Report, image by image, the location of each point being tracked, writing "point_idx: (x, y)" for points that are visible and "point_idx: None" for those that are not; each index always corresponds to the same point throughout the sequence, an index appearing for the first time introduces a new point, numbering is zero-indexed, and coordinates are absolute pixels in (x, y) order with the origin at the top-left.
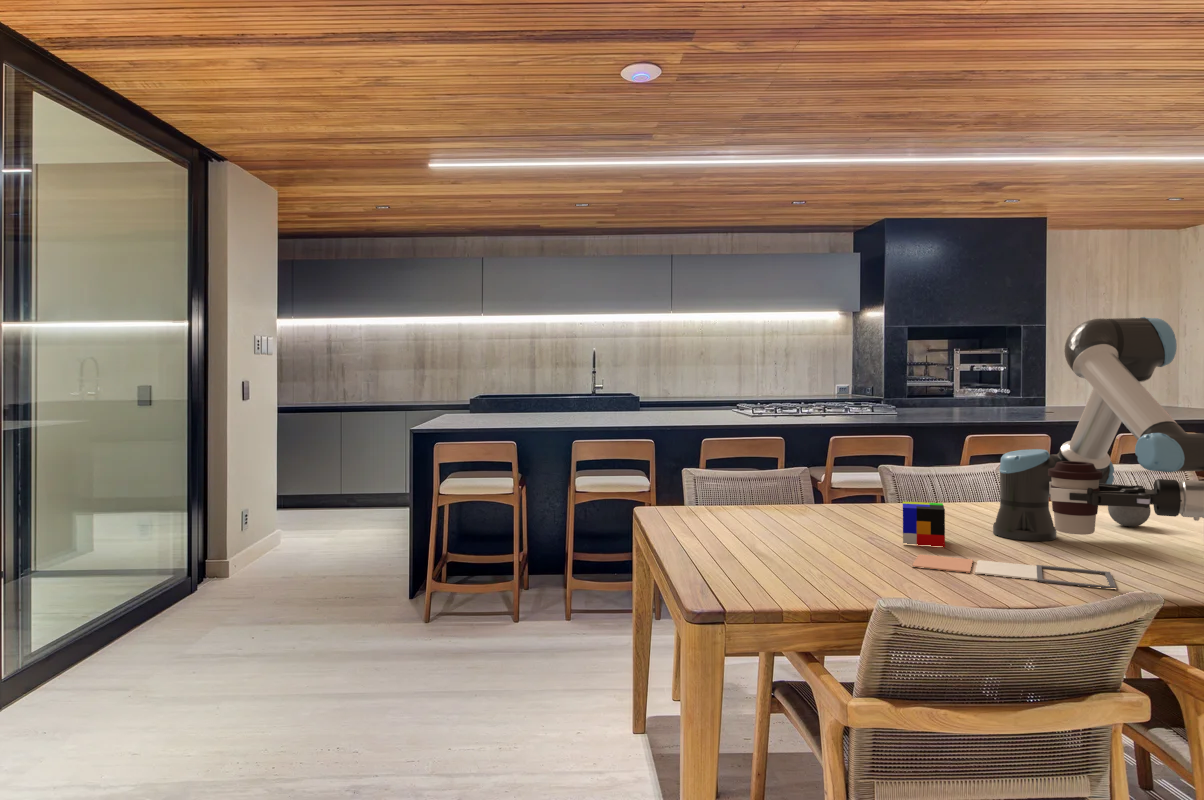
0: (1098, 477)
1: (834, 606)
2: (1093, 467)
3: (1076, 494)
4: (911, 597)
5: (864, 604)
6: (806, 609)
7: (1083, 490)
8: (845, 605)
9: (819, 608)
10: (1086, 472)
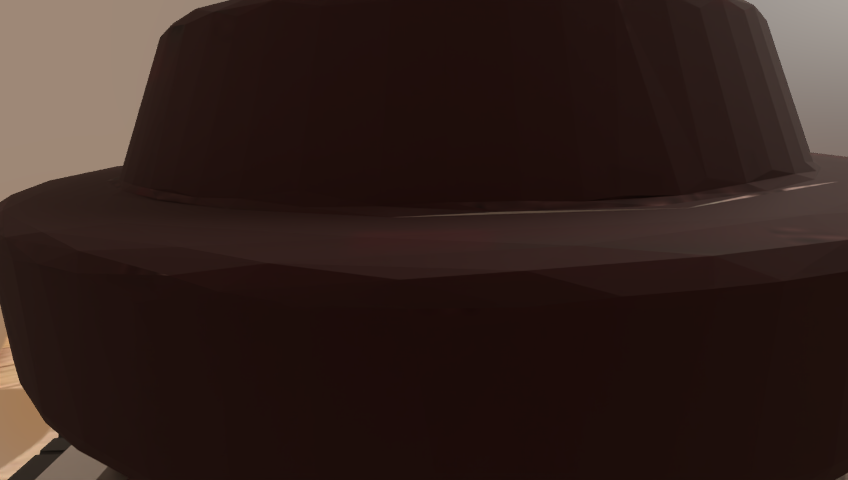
0: (41, 381)
1: (12, 363)
2: (259, 74)
3: (54, 448)
4: (53, 433)
5: (13, 387)
6: (4, 345)
7: (60, 458)
8: (15, 371)
9: (5, 354)
10: (114, 181)
